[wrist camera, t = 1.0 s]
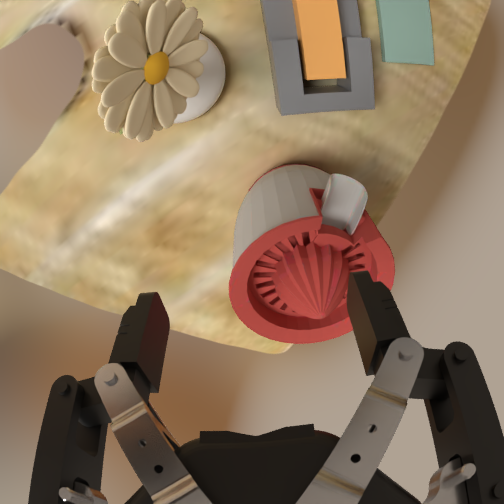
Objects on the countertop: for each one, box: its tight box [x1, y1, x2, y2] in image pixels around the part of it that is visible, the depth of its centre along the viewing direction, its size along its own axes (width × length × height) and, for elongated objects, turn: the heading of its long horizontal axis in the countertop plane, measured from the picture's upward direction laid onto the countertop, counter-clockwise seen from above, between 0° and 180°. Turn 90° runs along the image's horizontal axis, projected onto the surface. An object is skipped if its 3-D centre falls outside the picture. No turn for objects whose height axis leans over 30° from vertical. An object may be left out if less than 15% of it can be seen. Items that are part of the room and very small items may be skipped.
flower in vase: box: [92, 0, 225, 142], centre depth 21 cm, size 13×11×25 cm
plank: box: [292, 0, 346, 80], centre depth 26 cm, size 10×4×2 cm, turn 8°
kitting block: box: [260, 0, 375, 116], centre depth 27 cm, size 16×10×6 cm, turn 8°
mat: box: [376, 0, 434, 65], centre depth 26 cm, size 13×7×1 cm, turn 9°
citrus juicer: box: [229, 164, 395, 344], centre depth 34 cm, size 16×17×20 cm
